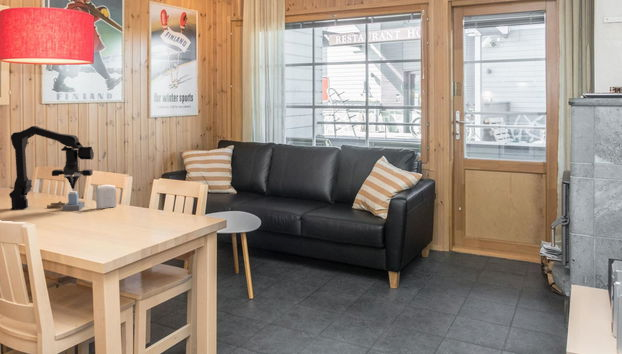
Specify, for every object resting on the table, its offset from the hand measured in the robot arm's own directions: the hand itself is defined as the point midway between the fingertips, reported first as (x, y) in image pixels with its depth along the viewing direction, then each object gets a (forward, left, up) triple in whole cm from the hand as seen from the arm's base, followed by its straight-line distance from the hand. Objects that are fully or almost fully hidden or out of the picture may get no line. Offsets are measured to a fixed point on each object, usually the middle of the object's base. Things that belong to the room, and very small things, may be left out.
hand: (73, 189), depth 268 cm
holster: (-9, +9, -10) cm, 16 cm away
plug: (0, 0, -10) cm, 10 cm away
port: (0, 0, -10) cm, 10 cm away
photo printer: (+16, +1, -11) cm, 19 cm away
